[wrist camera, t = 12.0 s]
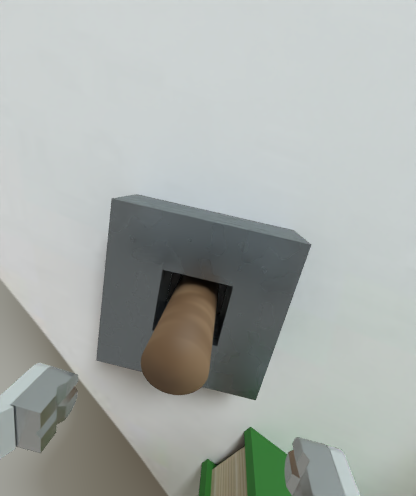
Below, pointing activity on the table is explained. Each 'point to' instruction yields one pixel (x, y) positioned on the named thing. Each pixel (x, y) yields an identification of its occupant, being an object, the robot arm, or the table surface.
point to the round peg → (183, 339)
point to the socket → (204, 267)
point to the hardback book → (247, 471)
